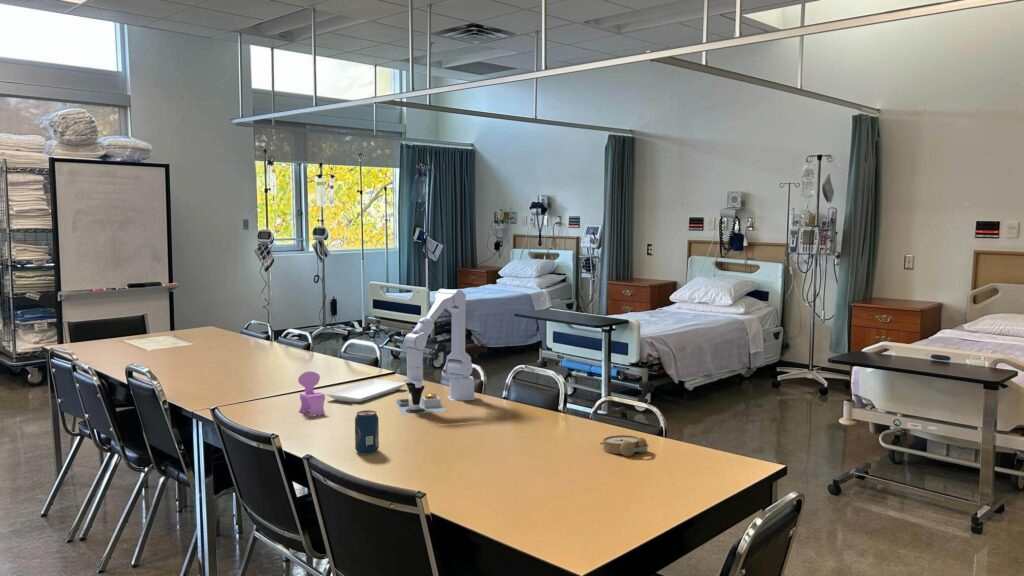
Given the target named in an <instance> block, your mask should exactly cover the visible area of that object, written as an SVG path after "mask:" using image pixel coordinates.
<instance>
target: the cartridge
mask: <svg viewBox="0 0 1024 576" xmlns="http://www.w3.org/2000/svg"><path fill="white" fill-rule="evenodd" d="M408 399H409V410H419V409H420V404H419V405H413V401H412V395H411V392H410V393H409V392H408Z"/></svg>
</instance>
